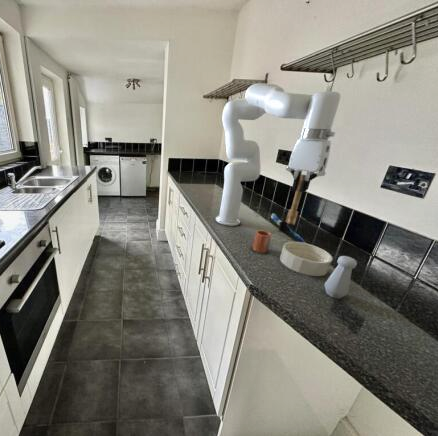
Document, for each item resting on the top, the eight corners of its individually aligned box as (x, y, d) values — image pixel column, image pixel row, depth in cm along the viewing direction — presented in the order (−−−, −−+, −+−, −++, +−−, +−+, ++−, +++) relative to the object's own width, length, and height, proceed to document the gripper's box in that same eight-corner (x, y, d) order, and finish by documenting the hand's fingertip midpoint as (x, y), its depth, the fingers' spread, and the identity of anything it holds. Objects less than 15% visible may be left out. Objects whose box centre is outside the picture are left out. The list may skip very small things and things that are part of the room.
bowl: (271, 254, 93) (275, 241, 91) (307, 254, 94) (312, 241, 92) (295, 277, 79) (300, 262, 77) (337, 277, 80) (343, 263, 78)
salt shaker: (335, 302, 69) (351, 265, 64) (317, 289, 74) (331, 254, 69) (349, 298, 70) (366, 262, 65) (331, 286, 75) (345, 252, 70)
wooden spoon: (284, 222, 86) (297, 174, 80) (287, 221, 87) (300, 173, 81) (292, 225, 84) (306, 175, 78) (295, 224, 85) (309, 175, 78)
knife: (268, 218, 127) (270, 211, 125) (274, 219, 127) (276, 211, 125) (298, 252, 100) (302, 243, 98) (305, 252, 100) (309, 243, 98)
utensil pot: (250, 247, 99) (253, 230, 96) (262, 247, 99) (266, 230, 96) (256, 253, 94) (260, 236, 91) (269, 253, 94) (273, 236, 91)
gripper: (349, 136, 70) (329, 195, 77) (295, 134, 83) (282, 185, 89) (338, 136, 66) (319, 197, 73) (284, 134, 79) (271, 187, 86)
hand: (299, 190), depth 81 cm, fingers closed on wooden spoon, 1 cm apart
